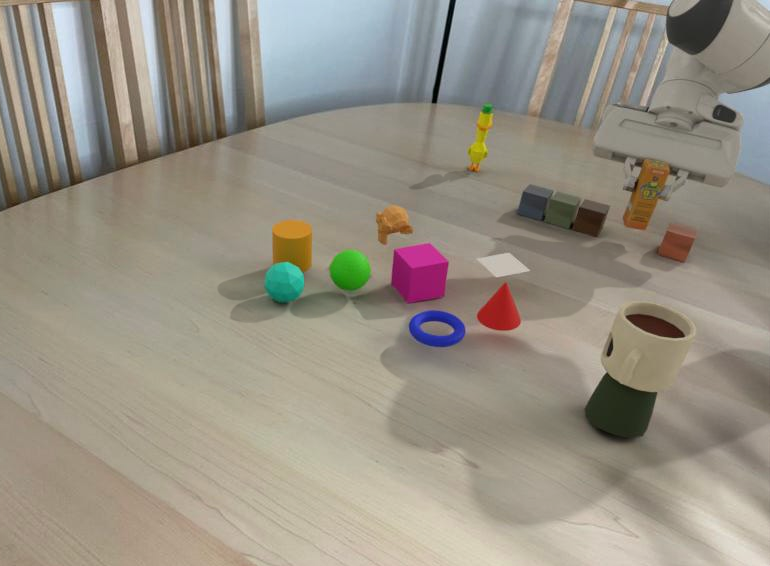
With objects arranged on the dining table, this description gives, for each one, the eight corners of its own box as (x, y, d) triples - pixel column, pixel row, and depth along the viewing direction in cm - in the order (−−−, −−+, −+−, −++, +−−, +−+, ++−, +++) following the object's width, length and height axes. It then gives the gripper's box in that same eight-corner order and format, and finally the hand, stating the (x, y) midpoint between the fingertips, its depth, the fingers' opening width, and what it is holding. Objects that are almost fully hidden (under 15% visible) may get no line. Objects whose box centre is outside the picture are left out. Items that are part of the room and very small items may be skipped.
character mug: (600, 386, 84) (640, 285, 76) (664, 415, 80) (712, 313, 73) (560, 431, 76) (599, 325, 69) (628, 466, 73) (677, 358, 65)
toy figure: (467, 161, 140) (481, 96, 133) (486, 164, 139) (501, 100, 133) (462, 173, 135) (476, 106, 128) (481, 176, 134) (497, 110, 127)
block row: (523, 206, 124) (529, 183, 122) (688, 252, 114) (698, 229, 112) (516, 214, 121) (522, 191, 119) (684, 262, 112) (695, 238, 109)
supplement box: (624, 227, 114) (647, 165, 108) (621, 218, 116) (643, 157, 111) (647, 231, 113) (671, 169, 107) (643, 222, 116) (667, 161, 110)
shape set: (238, 265, 103) (236, 217, 98) (463, 227, 112) (470, 182, 108) (312, 395, 80) (313, 341, 76) (585, 334, 90) (599, 283, 85)
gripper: (611, 87, 114) (577, 166, 112) (756, 118, 106) (723, 203, 105) (607, 109, 120) (575, 185, 118) (745, 141, 112) (713, 222, 110)
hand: (646, 194), depth 111 cm, fingers closed on supplement box, 4 cm apart
